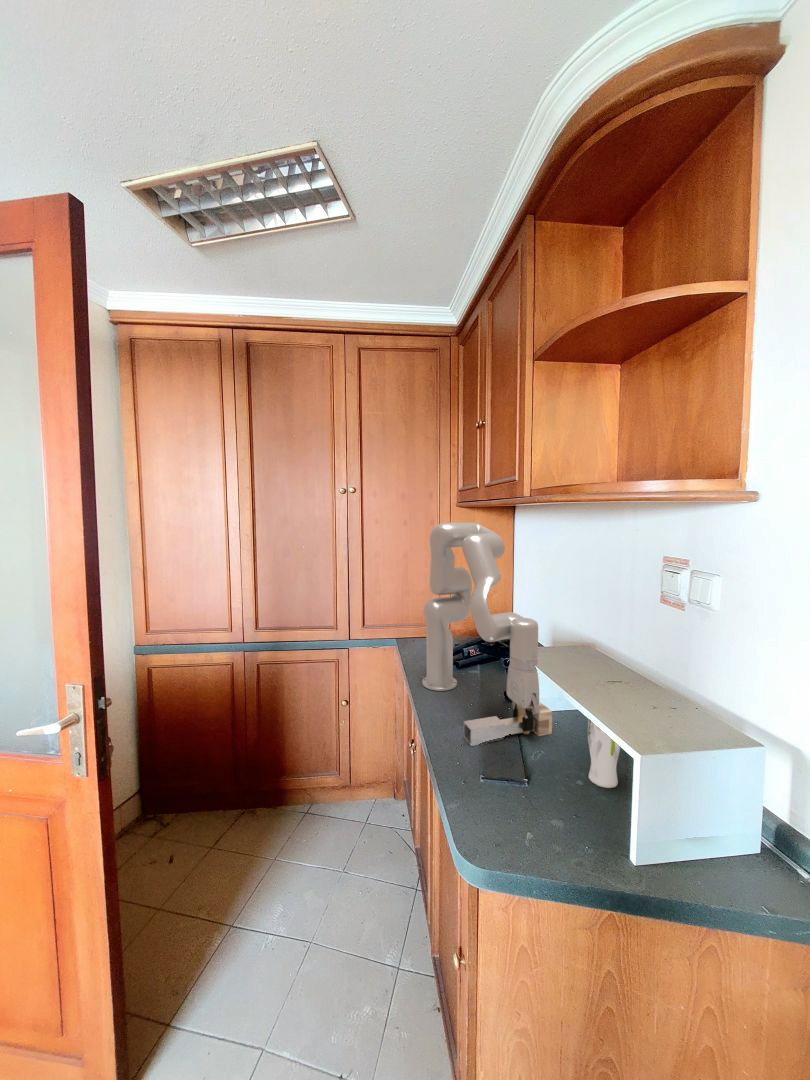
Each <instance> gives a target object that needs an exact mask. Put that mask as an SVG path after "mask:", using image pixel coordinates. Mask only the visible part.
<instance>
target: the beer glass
mask: <svg viewBox="0 0 810 1080" xmlns="http://www.w3.org/2000/svg"><path fill="white" fill-rule="evenodd" d="M587 722H588V723H587V743H588V748H589V749H588V750H589V754H590V755H589V756H590V767H589V772H588V779H589V781H590V782H592V784H595V786H598V787H600V788H605V789H613V788H616V787H618V784H619V781H618V779H619V778H618V773H617V764H618V761H619V755H620V751H621V746H619V745H618V744H617V743H616V742H614V741H613V740H612V739H611V738H610V737H609V736H608V735H607V734H606V733H604V732H603V731H602V730H601V729H600V728H599V727H597V726H596V725H595V724H594V723H593V722H592V721H591V720H590V719H589V718H588V721H587Z"/></svg>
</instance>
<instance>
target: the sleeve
mask: <svg viewBox="0 0 810 1080" xmlns="http://www.w3.org/2000/svg"><path fill="white" fill-rule="evenodd" d="M505 736H506V735H505V724H504V723H503V722H502V721H501V719H500V718H499V717H498V716H497V715H495V716H488V717H483V718H482V717H481V718H476V719H469V720H464V721H463V738H464V739H465V740H466V742H467V743H468V744H469V746H470V747H474V746H475V747H476V746H480V745H479V744H480V743H482V742H485V741H489V740H493V739H497V738H502V737H505Z"/></svg>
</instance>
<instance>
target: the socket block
mask: <svg viewBox="0 0 810 1080" xmlns="http://www.w3.org/2000/svg"><path fill="white" fill-rule="evenodd" d="M538 708H539V711H540V713H539V714H536V715H535V718H536V719H537V730H534V731H532V732H533V733H534V734H536V735H537V736H538V737H540V736H546V735H547V736H548V735H551V734H553V710H552V709H550V708H549V707H548V706H545V704H543V703H542V702H541V701H539V705H538Z"/></svg>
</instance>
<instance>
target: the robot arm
mask: <svg viewBox="0 0 810 1080" xmlns="http://www.w3.org/2000/svg"><path fill="white" fill-rule="evenodd" d="M429 548H430V566H429V567H430V569H429V588H430V591H431V593H432V594H434V595H435V596H441V597H435V598H431V599H429V600H428V601H426V603H425V604H424V606H423V617H424V618H423V619H424V621H425V632H426V634H425V635H426V637H425V638H426V639H425V640H426V676H425V677H423V678H422V680H421V682H422V683H421V685H423V687H424V688H426V689H427V690H431V691H436V692H442V691H443V692H445V691H450V690H454V689H455V688H456V687H458V686H457V685H458V680H457V679H456V678H454V677H453V675H454V669H453V668H454V665H453V664H454V659H453V658H454V656H453V654H454V650H453V649H454V639H453V638H454V636H453V633H452V632H451V629H450V627H449V626H448V624H452V623H458V622H459V623H460V622H464V621H465V620H466V619H467V618H468V617H469V614H471V618H472V621H473V623H474V626H475V629H476V631H477V634H478V635H479V637H480V638H481V639H482V640H483V641H485V642H489V643H493V642H499V641H502V640H509V665H508V669H507V677H506V696H507V697H508V699H510V701H511V707H512V718H514V717H517V705H519V706H520V707H521V708H523V712H524V717H522V731H524V732H526V731H529V732H533V731H532V730H533V717H535V715H536V714H539V713H540V711H539V708H538V705H539V702H540V682H539V681H540V679H539V672H538V670H537V669H536V667H535V666H536V665H537V664H539V624H538V621H536V620H535V619H532V618H528V617H524V616H521V615H520V614H518V613H516V612H513V611H512V612H511V611H508V612H507V611H506V612H501V613H500V612H499V613H494V614H491V611H490V609H489V608H490V607H489V605H488V595H489V592H490V590H491V589H492V588H493V587H494V586H496V585H497V584H498V583H499V582H500V581H501V580H502V576H501V575H502V574H501V572H500V570H499V567H498V564H497V561H496V559H500V558H501V557H502V556H503V555H504V554H505V549H506V545H505V542H504V540H503V538H502V537H501V536H500V535H499V534H498V533H496V532H495V531H493V530H491V529H489V528H487V527H485V526H483V525H481V524H479V523H478V522H458V521H457V522H456V521H455V522H453V521H452V522H443V523H439V524H437V525H435V526H434V527H432V530H431V532H430V534H429ZM453 548H461V550H462V552H463V555H464V558H465V559H464V560H466V564H467V567H468V569H469V571H468V570H467V569H466V568H465V567H462V566H456V565H455V564H456V556H455V553H454V551H453ZM473 584H474V587H473ZM472 587H473V588H474V589H473V588H472ZM472 589H473V591H472ZM444 595H449V596H444ZM450 595H451V596H450ZM442 596H443V597H442ZM527 709H530V711H529V712H527Z"/></svg>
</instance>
